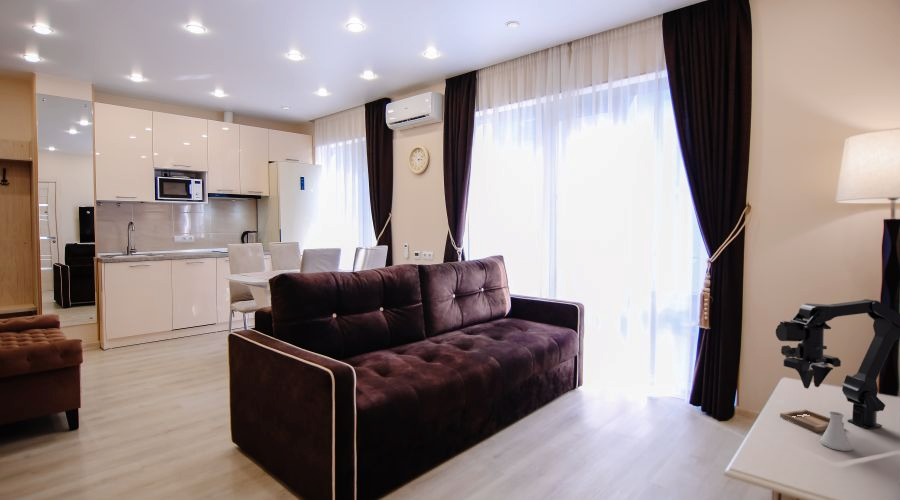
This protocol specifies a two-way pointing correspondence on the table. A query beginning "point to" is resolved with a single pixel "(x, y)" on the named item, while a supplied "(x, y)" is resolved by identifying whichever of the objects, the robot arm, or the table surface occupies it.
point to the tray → (808, 420)
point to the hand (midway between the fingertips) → (811, 387)
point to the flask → (836, 434)
